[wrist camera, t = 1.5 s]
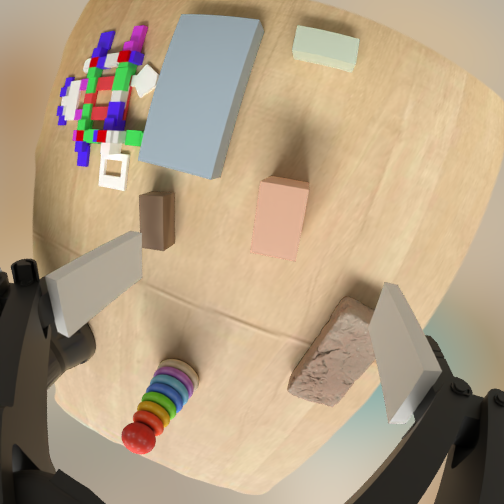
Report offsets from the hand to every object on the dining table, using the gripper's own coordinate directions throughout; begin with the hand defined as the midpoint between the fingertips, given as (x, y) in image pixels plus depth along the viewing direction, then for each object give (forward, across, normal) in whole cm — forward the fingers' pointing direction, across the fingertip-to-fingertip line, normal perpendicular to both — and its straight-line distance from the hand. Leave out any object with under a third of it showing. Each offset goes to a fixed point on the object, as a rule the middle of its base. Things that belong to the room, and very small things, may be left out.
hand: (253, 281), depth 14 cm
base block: (+22, -12, +13) cm, 28 cm away
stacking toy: (+21, -13, -32) cm, 41 cm away
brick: (+22, +11, -19) cm, 31 cm away
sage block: (+21, +2, +20) cm, 29 cm away
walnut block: (+21, -16, -4) cm, 27 cm away
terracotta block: (+21, 0, 0) cm, 21 cm away
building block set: (+22, -29, +12) cm, 38 cm away
